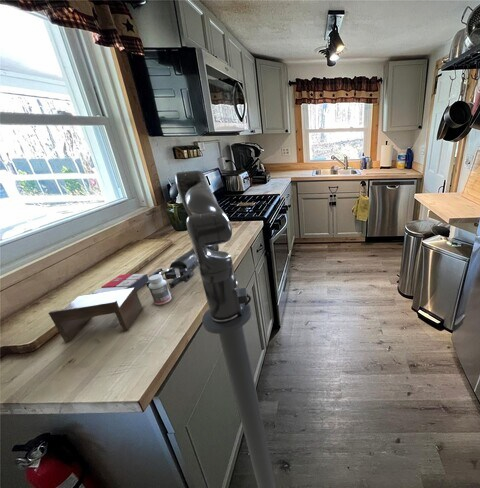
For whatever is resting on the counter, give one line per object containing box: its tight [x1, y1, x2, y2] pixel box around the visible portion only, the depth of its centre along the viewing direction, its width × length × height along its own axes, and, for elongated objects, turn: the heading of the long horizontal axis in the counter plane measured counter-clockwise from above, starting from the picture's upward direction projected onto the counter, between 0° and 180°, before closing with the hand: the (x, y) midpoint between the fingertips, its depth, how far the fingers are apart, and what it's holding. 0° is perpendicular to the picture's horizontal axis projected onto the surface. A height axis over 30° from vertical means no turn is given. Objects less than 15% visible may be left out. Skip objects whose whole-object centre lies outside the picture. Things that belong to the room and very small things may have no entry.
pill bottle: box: [148, 274, 172, 306], centre depth 90 cm, size 5×5×10 cm
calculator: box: [91, 273, 149, 294], centre depth 98 cm, size 11×4×15 cm
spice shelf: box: [48, 288, 143, 343], centre depth 80 cm, size 16×12×10 cm
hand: (159, 285), depth 90 cm, fingers open, 8 cm apart
